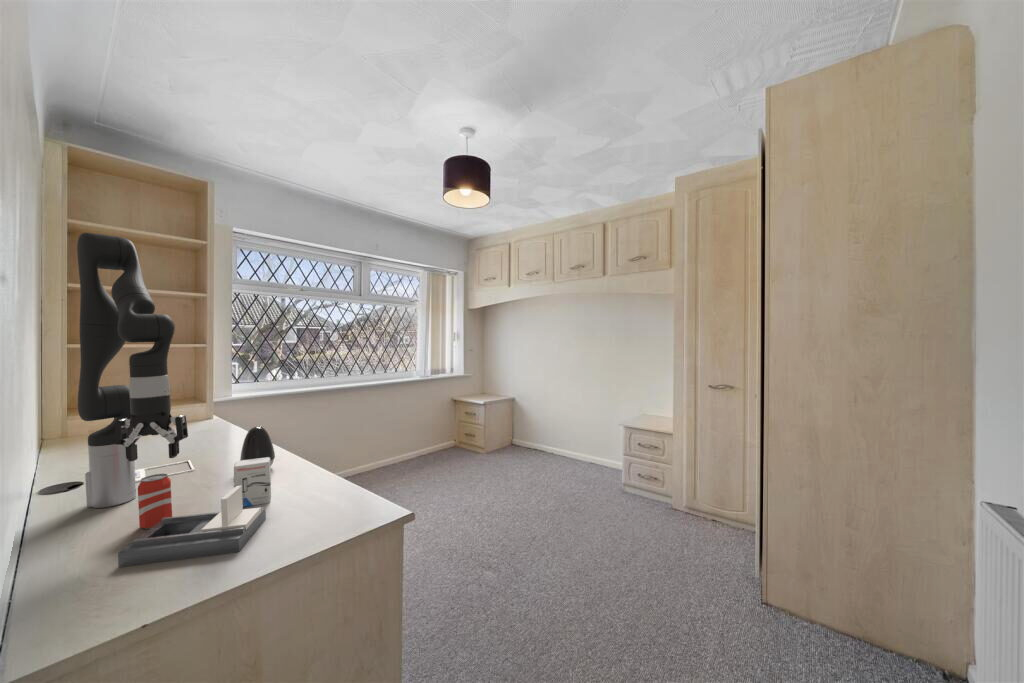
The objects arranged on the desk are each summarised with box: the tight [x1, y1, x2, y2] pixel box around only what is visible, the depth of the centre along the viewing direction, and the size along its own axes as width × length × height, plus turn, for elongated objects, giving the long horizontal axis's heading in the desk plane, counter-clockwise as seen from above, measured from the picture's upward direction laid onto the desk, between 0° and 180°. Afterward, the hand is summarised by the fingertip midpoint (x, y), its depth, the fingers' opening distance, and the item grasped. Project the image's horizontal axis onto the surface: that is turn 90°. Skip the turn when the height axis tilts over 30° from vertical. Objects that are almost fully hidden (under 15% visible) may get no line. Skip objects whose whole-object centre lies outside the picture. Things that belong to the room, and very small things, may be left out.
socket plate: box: [117, 506, 267, 568], centre depth 94 cm, size 22×16×4 cm
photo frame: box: [135, 459, 196, 484], centre depth 141 cm, size 15×1×18 cm
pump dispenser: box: [239, 425, 276, 467], centre depth 141 cm, size 10×10×15 cm
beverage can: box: [137, 473, 173, 530], centre depth 102 cm, size 6×6×12 cm
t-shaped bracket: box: [201, 486, 261, 532], centre depth 95 cm, size 9×9×7 cm
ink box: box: [233, 457, 272, 508], centre depth 114 cm, size 9×5×12 cm, turn 117°
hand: (153, 458), depth 102 cm, fingers open, 8 cm apart
